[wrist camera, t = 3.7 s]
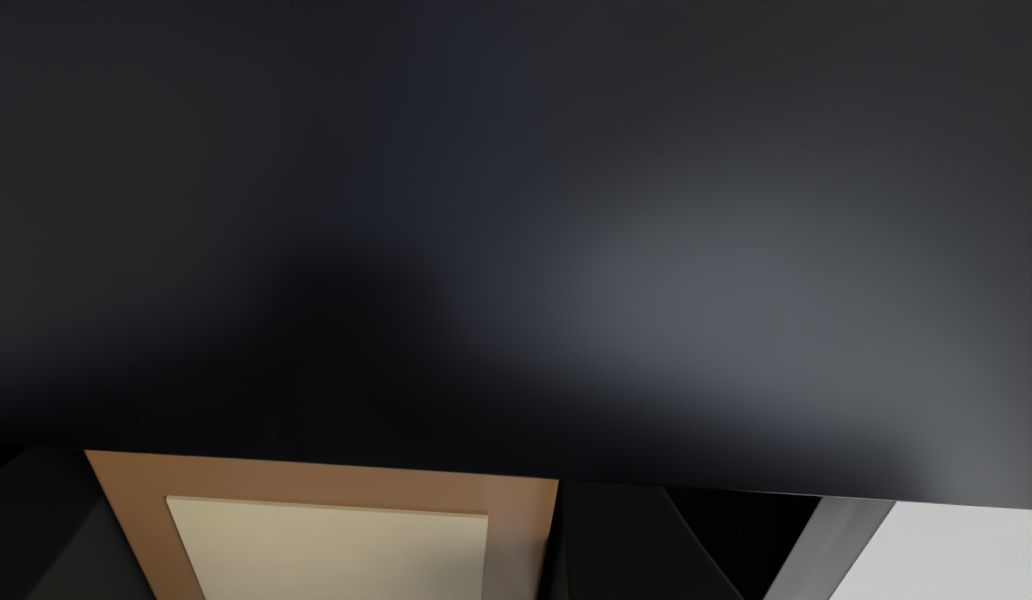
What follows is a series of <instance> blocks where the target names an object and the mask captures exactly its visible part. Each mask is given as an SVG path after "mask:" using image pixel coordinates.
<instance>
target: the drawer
mask: <svg viewBox="0 0 1032 600" xmlns="http://www.w3.org/2000/svg"><path fill="white" fill-rule="evenodd" d="M28 447H29V446H14V445H0V468H1V467H2V466H4V465H5V464H6V463H8V462H9V461H10V460H12V459H13V458H14V457H16V456H17V455H18V454H20V453H21V452H22V451H24V450H25V449H26V448H28ZM663 488H664V489H665V491H666V492H667V494H668V496H669V497H670V499H671V500H672V502H673V503H674V505H675V506H676V508H677V509H678V511H679V513H680V514H681V516H682V517H683V519H684V520H685V521H686V523H687V524H688V526H689V527H690V529H691V530H692V531H693V533H694V534H695V536H696V537H697V539H698V540H699V542H700V543H701V544H702V546H703V547H704V549H705V550H706V551H707V552H708V554H709V555H710V556H711V558H712V559H713V560H714V561H715V563H716V564H717V565H718V567H719V568H720V569H721V570H722V572H723V573H724V574H725V575H726V577H727V578H728V579H729V581H730V582H731V583H732V584H733V586H734V587H735V588H736V590H737V591H738V592H739V593H740V595H741V596H742V597H743V598H744V600H829V599H830V597H831V596H832V595H833V593H834V592H835V590H836V589H837V587H838V586H839V584H840V583H841V582H842V580H843V579H844V577H845V576H846V574H847V573H848V571H849V570H850V569H851V567H852V566H853V564H854V563H855V561H856V560H857V558H858V557H859V556H860V554H861V553H862V551H863V550H864V548H865V547H866V545H867V544H868V543H869V541H870V540H871V538H872V537H873V535H874V534H875V532H876V531H877V530H878V528H879V527H880V525H881V524H882V522H883V521H884V519H885V518H886V517H887V515H888V514H889V512H890V511H891V509H892V508H893V506H894V505H895V504H896V502H897V501H886V500H870V499H854V498H838V497H822V496H806V495H791V494H775V493H759V492H743V491H727V490H711V489H696V488H680V487H664V486H663Z"/></svg>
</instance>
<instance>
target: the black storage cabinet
mask: <svg viewBox="0 0 1032 600" xmlns="http://www.w3.org/2000/svg"><path fill="white" fill-rule="evenodd" d="M0 445H14V446H30V447H46V448H62V449H78V450H94V451H109V452H125V453H141V454H157V455H173V456H189V457H204V458H220V459H236V460H252V461H268V462H284V463H300V464H315V465H331V466H347V467H363V468H379V469H395V470H410V471H426V472H442V473H458V474H474V475H490V476H505V477H521V478H537V479H553V480H569V481H585V482H600V483H616V484H632V485H648V486H664V487H680V488H696V489H711V490H727V491H743V492H759V493H775V494H791V495H806V496H822V497H838V498H854V499H870V500H886V501H901V502H917V503H933V504H949V505H965V506H981V507H996V508H1012V509H1028V510H1032V0H0Z"/></svg>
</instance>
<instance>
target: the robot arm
mask: <svg viewBox="0 0 1032 600" xmlns="http://www.w3.org/2000/svg"><path fill="white" fill-rule="evenodd" d="M0 600H156V598H155V596H154V594H153V592H152V590H151V588H150V586H149V583H148V581H147V579H146V577H145V575H144V573H143V571H142V569H141V567H140V565H139V563H138V561H137V559H136V557H135V555H134V553H133V551H132V549H131V546H130V544H129V542H128V540H127V538H126V536H125V534H124V532H123V530H122V528H121V526H120V524H119V522H118V520H117V518H116V516H115V514H114V512H113V510H112V507H111V505H110V503H109V501H108V499H107V497H106V495H105V493H104V491H103V489H102V487H101V485H100V483H99V481H98V479H97V477H96V475H95V473H94V470H93V468H92V466H91V464H90V462H89V460H88V458H87V456H86V454H85V452H84V450H78V449H62V448H46V447H30V446H29V447H28V448H26V449H25V450H24V451H22V452H21V453H20V454H18V455H17V456H16V457H14V458H13V459H12V460H10V461H9V462H8V463H6V464H5V465H4V466H2V467H1V468H0ZM537 600H744V598H743V597H742V596H741V595H740V593H739V592H738V591H737V590H736V588H735V587H734V586H733V584H732V583H731V582H730V581H729V579H728V578H727V577H726V575H725V574H724V573H723V572H722V570H721V569H720V568H719V567H718V565H717V564H716V563H715V561H714V560H713V559H712V558H711V556H710V555H709V554H708V552H707V551H706V550H705V549H704V547H703V546H702V544H701V543H700V542H699V540H698V539H697V537H696V536H695V534H694V533H693V531H692V530H691V529H690V527H689V526H688V524H687V523H686V521H685V520H684V519H683V517H682V516H681V514H680V513H679V511H678V509H677V508H676V506H675V505H674V503H673V502H672V500H671V499H670V497H669V496H668V494H667V492H666V491H665V489H664V488H663V486H648V485H632V484H616V483H600V482H585V481H569V480H559V483H558V489H557V494H556V500H555V505H554V511H553V516H552V522H551V527H550V533H549V538H548V544H547V549H546V555H545V560H544V566H543V571H542V577H541V582H540V588H539V594H538V599H537Z"/></svg>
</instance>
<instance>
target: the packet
mask: <svg viewBox="0 0 1032 600" xmlns="http://www.w3.org/2000/svg"><path fill="white" fill-rule="evenodd" d="M84 452H85V454H86V456H87V458H88V460H89V462H90V464H91V466H92V468H93V470H94V473H95V475H96V477H97V479H98V481H99V483H100V485H101V487H102V489H103V491H104V493H105V495H106V497H107V499H108V501H109V503H110V505H111V507H112V510H113V512H114V514H115V516H116V518H117V520H118V522H119V524H120V526H121V528H122V530H123V532H124V534H125V536H126V538H127V540H128V542H129V544H130V546H131V549H132V551H133V553H134V555H135V557H136V559H137V561H138V563H139V565H140V567H141V569H142V571H143V573H144V575H145V577H146V579H147V581H148V583H149V586H150V588H151V590H152V592H153V594H154V596H155V598H156V600H537V599H538V594H539V588H540V582H541V577H542V571H543V566H544V560H545V555H546V549H547V544H548V538H549V533H550V527H551V522H552V516H553V511H554V505H555V500H556V494H557V489H558V483H559V480H553V479H537V478H521V477H505V476H490V475H474V474H458V473H442V472H426V471H410V470H395V469H379V468H363V467H347V466H331V465H315V464H300V463H284V462H268V461H252V460H236V459H220V458H204V457H189V456H173V455H157V454H141V453H125V452H109V451H94V450H84Z"/></svg>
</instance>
